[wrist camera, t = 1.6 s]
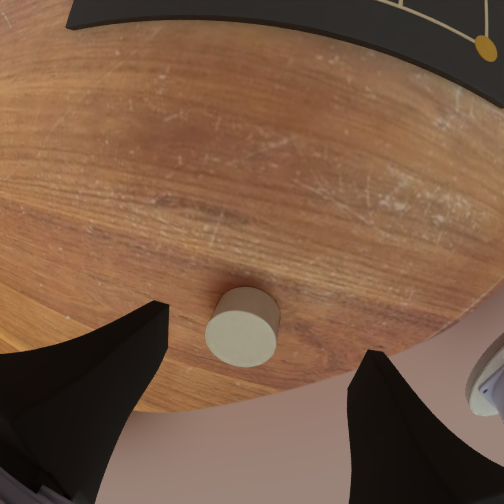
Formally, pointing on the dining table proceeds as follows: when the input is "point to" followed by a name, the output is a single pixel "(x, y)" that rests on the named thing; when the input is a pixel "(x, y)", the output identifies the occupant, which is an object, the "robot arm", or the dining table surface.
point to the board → (352, 28)
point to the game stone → (244, 327)
